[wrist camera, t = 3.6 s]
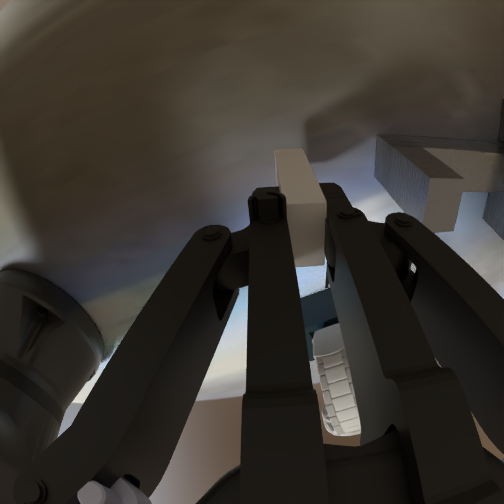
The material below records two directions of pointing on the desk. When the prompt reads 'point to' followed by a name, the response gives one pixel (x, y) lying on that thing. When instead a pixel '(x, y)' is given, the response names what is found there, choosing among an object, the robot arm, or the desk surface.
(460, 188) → the grey l-shaped block
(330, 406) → the watch
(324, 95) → the desk surface
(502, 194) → the socket block
